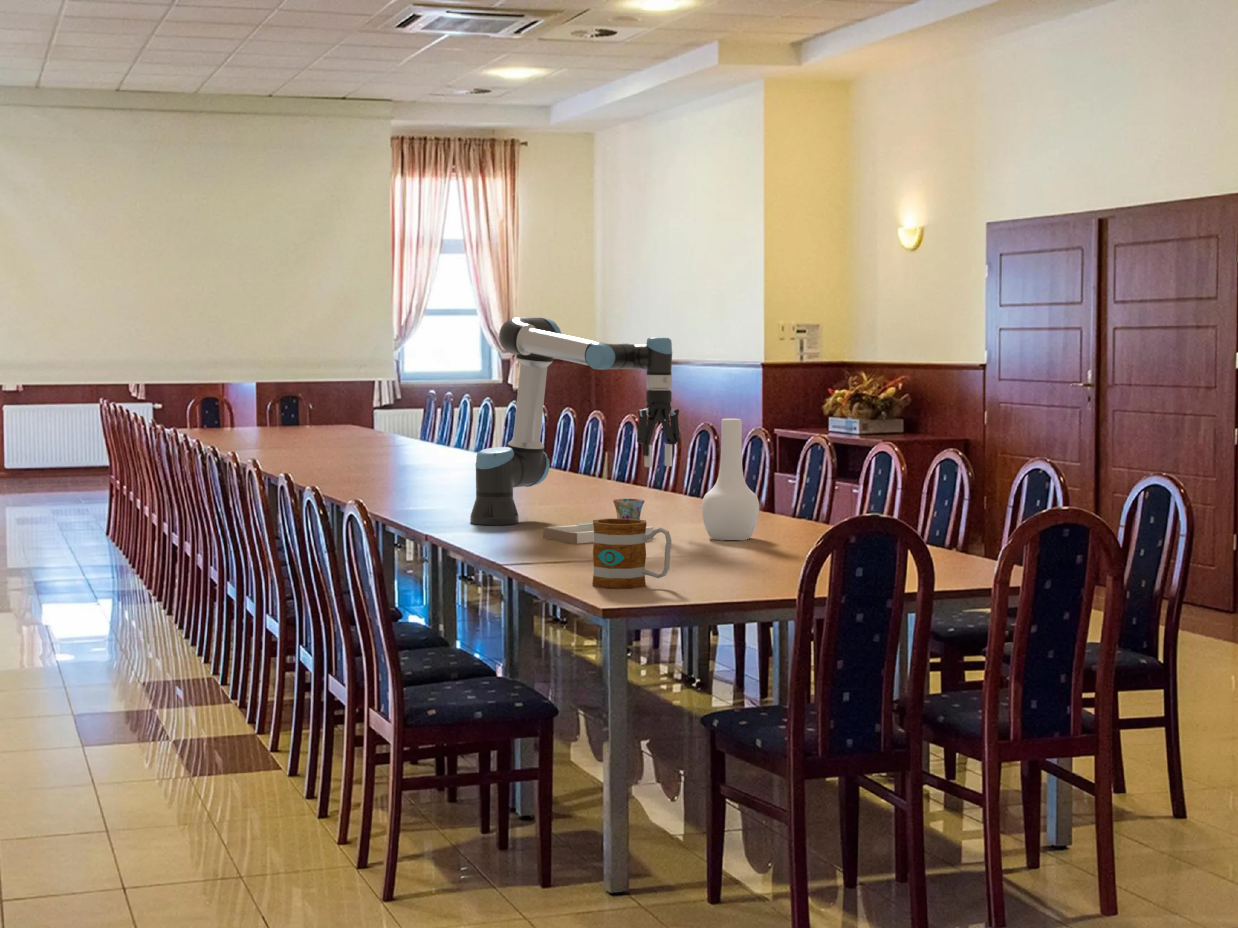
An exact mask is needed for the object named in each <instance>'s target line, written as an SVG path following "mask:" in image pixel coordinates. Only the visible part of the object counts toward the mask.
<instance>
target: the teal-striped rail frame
mask: <svg viewBox="0 0 1238 928" xmlns="http://www.w3.org/2000/svg"><path fill="white" fill-rule="evenodd" d="M653 530H655V529H654V526H646V532H645V535H649V534H650V533H651V532H652V531H653ZM542 538H543V539H547V540H553V541H555V542H556V541H557V542H562V543H566V544H567V543H568V544H573V545H575V544H576V545H579V544H585V543H586V544H587V543H589V544H590V543H594V526H593V522H592V523H591V522H590V523H580V524H578V523H577V524H575V525H562V526H547V527H542Z"/></svg>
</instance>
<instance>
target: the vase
mask: <svg viewBox="0 0 1238 928" xmlns="http://www.w3.org/2000/svg"><path fill="white" fill-rule="evenodd" d="M742 421H743V420H742V419H741V418H722V419H721V424H720V425H721V427H720V428H721V429H720V430H721V432H720V434H721V435H720V436H721V437H720V438H721V439H720V441H721V442H720V443H721V444H720V462H719V463H720V465H719V472H718V476H717V480H716V482H715V484H714V485H713V486H712V487H711V489H710V490H708V491H707V492H706V493H705V494H704V496H703V499H702V502H701V513H702V518H703V519H702V520H703V523H704V527H705V530H706V532H707V534H708V536H709V538H710V539H711V538H712V539H711V540H715V541H723V540H741V541H747V539H748V540H750V539H751V538H752V536H753V534H754V532H755V530H756V527H757V524H758V520H759V515H760V502H759V498H758V496H757V494H756V493H755V492H754V491H752V490H751V489H750V487H749V486H748V485H747V482H746V480H745V477H744V471H743V470H744V469H743V458H742V457H743V455H742V453H743V451H742V449H743V447H742V445H743V443H742V442H743V441H742V439H743V437H742V436H743V435H742V434H743V431H742V430H743V422H742ZM749 538H750V539H749Z"/></svg>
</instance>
